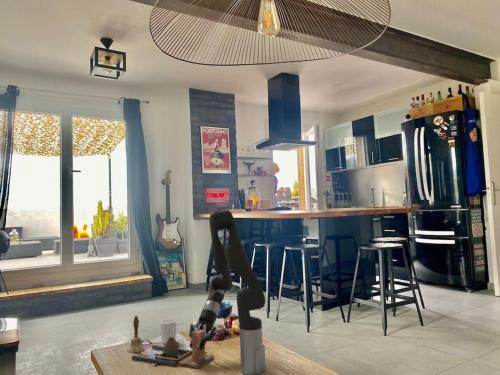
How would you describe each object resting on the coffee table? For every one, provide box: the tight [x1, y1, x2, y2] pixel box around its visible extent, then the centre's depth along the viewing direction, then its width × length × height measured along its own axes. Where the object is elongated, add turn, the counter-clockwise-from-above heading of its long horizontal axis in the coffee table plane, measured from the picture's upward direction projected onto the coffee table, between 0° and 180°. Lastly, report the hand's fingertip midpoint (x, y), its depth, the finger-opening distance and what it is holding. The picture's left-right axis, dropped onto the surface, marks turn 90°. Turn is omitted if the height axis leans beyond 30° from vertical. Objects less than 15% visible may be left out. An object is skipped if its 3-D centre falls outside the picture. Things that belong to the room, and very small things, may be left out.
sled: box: [154, 330, 215, 369], centre depth 169 cm, size 23×12×13 cm, turn 64°
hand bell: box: [127, 315, 146, 354], centre depth 185 cm, size 8×8×16 cm
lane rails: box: [131, 344, 177, 368], centre depth 173 cm, size 24×15×2 cm, turn 64°
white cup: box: [160, 319, 177, 345], centre depth 195 cm, size 8×8×10 cm
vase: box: [163, 337, 180, 359], centre depth 172 cm, size 7×7×9 cm
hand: (195, 348), depth 164 cm, fingers closed on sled, 4 cm apart
